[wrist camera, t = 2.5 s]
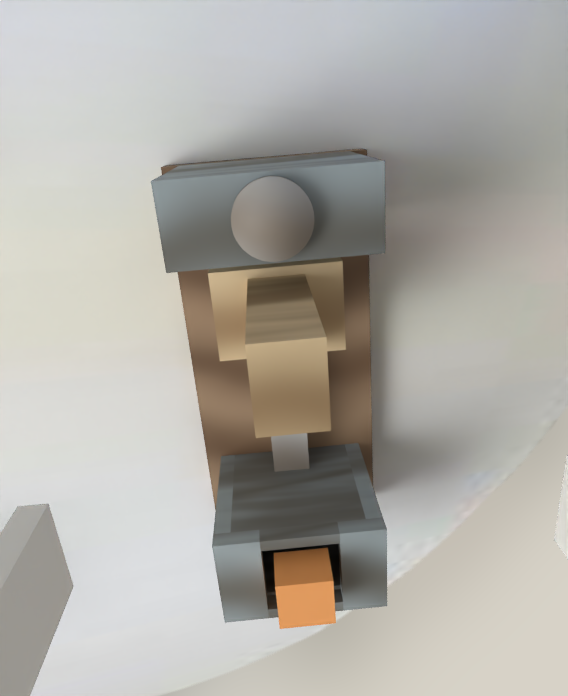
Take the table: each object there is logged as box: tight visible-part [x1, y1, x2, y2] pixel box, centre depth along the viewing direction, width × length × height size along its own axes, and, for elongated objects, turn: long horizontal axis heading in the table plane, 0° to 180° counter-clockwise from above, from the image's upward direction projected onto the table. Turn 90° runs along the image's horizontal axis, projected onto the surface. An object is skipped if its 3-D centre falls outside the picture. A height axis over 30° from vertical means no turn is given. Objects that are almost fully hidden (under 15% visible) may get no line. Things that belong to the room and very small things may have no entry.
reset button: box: [274, 548, 336, 629], centre depth 31 cm, size 3×3×2 cm
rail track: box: [151, 149, 387, 622], centre depth 32 cm, size 26×12×11 cm, turn 4°
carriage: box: [208, 257, 346, 438], centre depth 27 cm, size 5×7×14 cm
